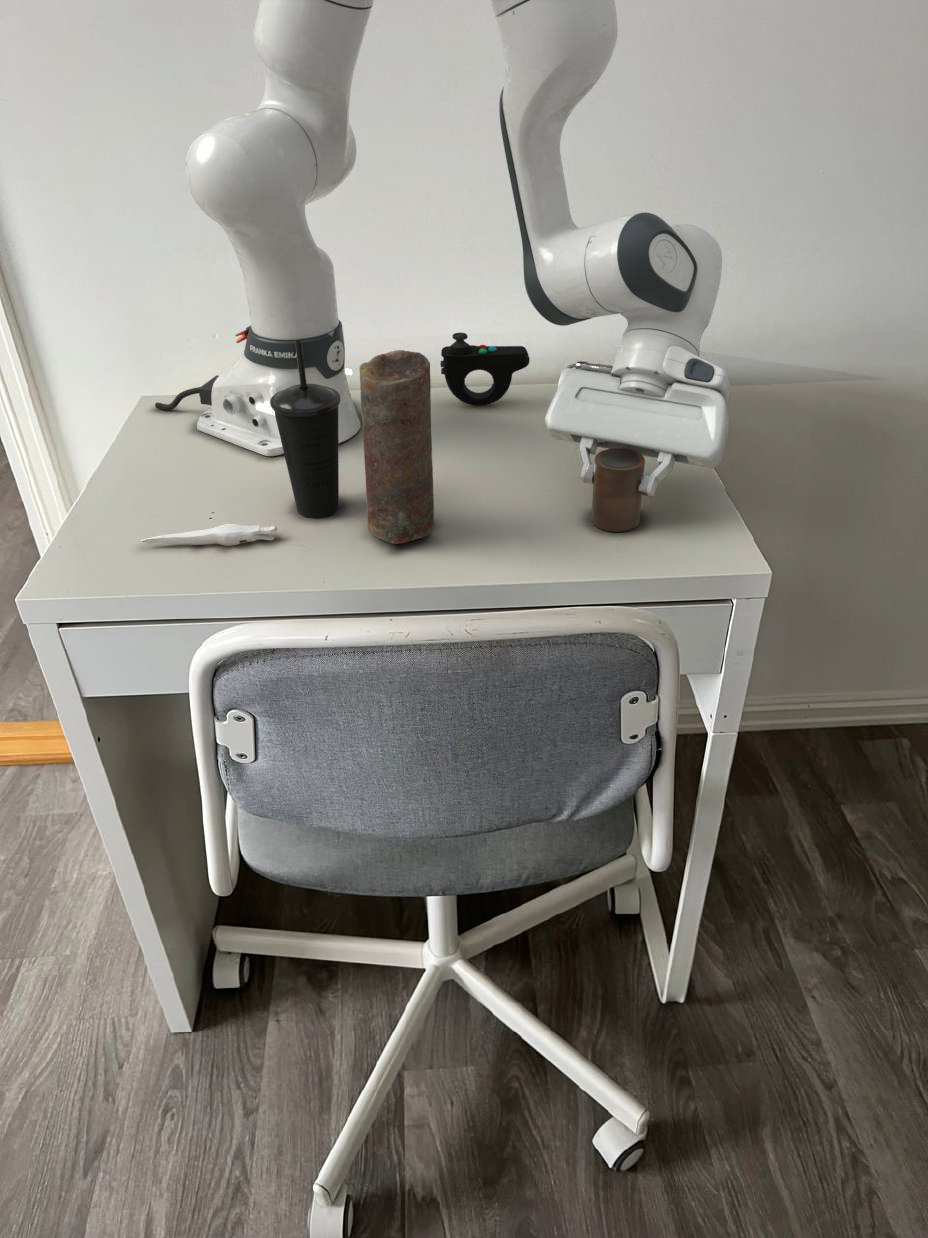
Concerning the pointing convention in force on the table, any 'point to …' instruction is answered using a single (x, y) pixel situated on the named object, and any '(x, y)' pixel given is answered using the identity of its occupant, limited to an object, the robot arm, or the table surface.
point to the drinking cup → (310, 442)
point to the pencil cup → (617, 489)
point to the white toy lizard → (216, 535)
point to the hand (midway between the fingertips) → (616, 487)
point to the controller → (480, 368)
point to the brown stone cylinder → (398, 445)
